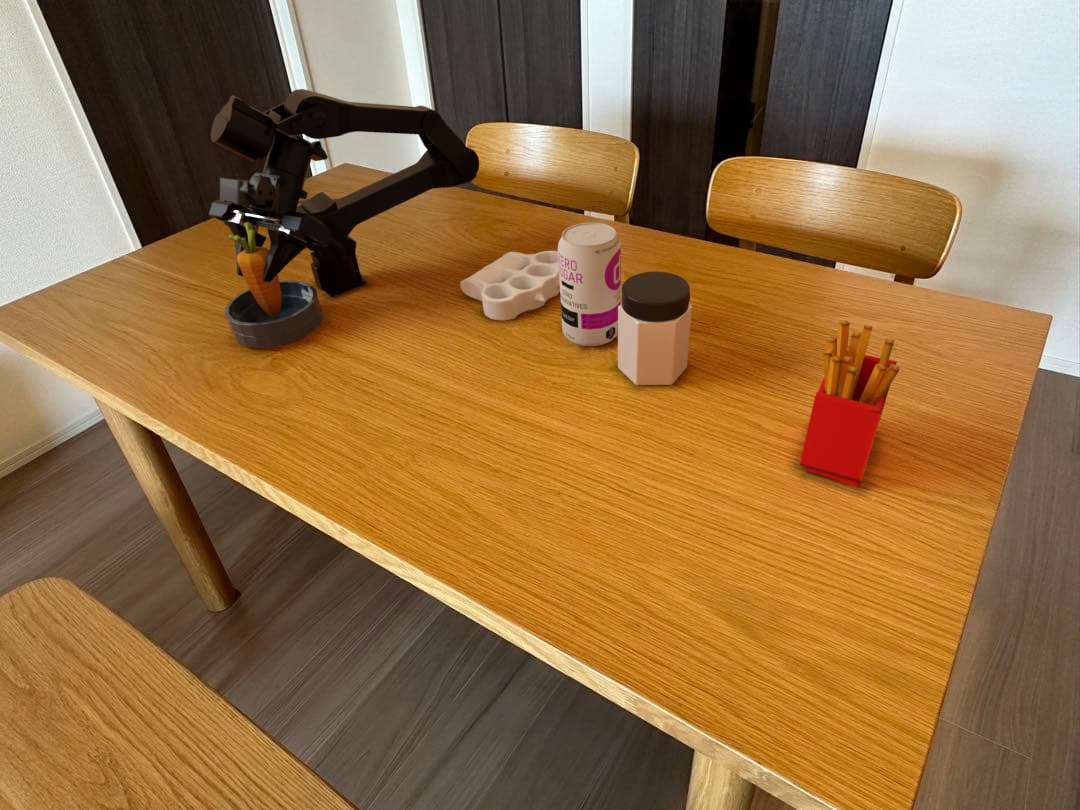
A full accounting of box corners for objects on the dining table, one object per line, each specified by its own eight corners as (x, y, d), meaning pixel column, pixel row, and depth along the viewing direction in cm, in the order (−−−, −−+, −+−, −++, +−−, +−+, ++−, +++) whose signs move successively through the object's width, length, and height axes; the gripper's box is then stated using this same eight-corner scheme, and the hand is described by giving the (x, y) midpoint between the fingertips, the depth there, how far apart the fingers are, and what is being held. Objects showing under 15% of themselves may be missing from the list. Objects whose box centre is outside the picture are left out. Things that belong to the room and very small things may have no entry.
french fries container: (792, 469, 74) (815, 362, 66) (812, 420, 80) (835, 316, 72) (862, 490, 71) (896, 380, 63) (877, 437, 77) (910, 330, 69)
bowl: (303, 297, 113) (296, 271, 110) (338, 327, 104) (331, 301, 101) (223, 326, 107) (212, 301, 104) (252, 362, 98) (242, 335, 95)
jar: (698, 375, 89) (706, 292, 81) (644, 395, 86) (647, 311, 79) (659, 343, 95) (663, 263, 88) (608, 360, 93) (607, 280, 85)
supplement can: (628, 323, 100) (629, 224, 91) (608, 353, 94) (607, 251, 85) (576, 313, 103) (572, 217, 94) (553, 342, 97) (547, 243, 88)
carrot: (271, 331, 103) (236, 237, 94) (253, 321, 106) (217, 229, 96) (299, 316, 106) (268, 223, 97) (281, 307, 109) (248, 216, 99)
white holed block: (518, 258, 118) (590, 278, 111) (447, 304, 108) (521, 329, 100) (517, 240, 116) (589, 259, 109) (444, 285, 105) (519, 309, 98)
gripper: (194, 143, 97) (161, 249, 97) (292, 155, 90) (257, 271, 89) (254, 178, 107) (224, 275, 107) (347, 192, 100) (316, 295, 99)
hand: (253, 278), depth 100 cm, fingers closed on carrot, 5 cm apart
